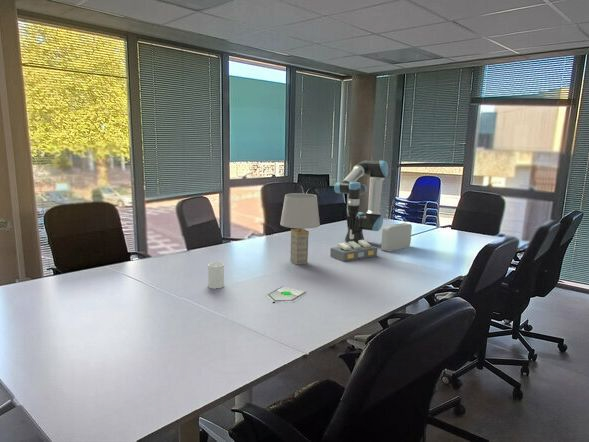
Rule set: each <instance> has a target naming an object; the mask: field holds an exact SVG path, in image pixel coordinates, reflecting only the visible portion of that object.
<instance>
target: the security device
mask: <svg viewBox="0 0 589 442" xmlns="http://www.w3.org/2000/svg"><path fill="white" fill-rule="evenodd" d="M306 293H307V294H308V292H307V291H305V290H301V289H298V288H297V289H296V288H292V287H288V286H284V285H283V286H280V287H279V288H277V289H276V290H273V291H272V292H270V293H268V294H266V295H267V296H268V297H269V298H271V300H273V302H282V301H283V302H285V301H291V302H292V301H294V300H296V299H298V298H299V297H301V296H303V295H304V294H306ZM307 294H306V295H307ZM304 296H305V295H304ZM304 296H303V297H304ZM301 298H302V297H301ZM298 300H299V299H298Z"/></svg>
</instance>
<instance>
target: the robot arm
mask: <svg viewBox="0 0 589 442" xmlns="http://www.w3.org/2000/svg"><path fill="white" fill-rule="evenodd" d="M388 175H389V164H388V162H387V161H385V160H379V159H378V160H377V159H365V160H362V161H360V162H357V164H355V165H354V166H353V168H352V170H351V171H350V172H349V174H347V176H346V177H345V178H344V179H343V180H342V181H341V182H336V183H335V184H334V186H333V187H334V188H333V189H334V192H335V193H336V194H343V195H345V194H347V195H348V199H347V200H348V205H347V210H348V212H347V213H345V216H346V224H347V232H346V236H345V238H344V242H346V243H348V242H350V241H354V242H356V243H357V244H359V243H358V240H364V241H365V238H364V233H363V230H365V231H372V232H379V231H381V229H382V228H383V227H382V226H383V223H384V217H383V216H382V213H381V212H380V208H381V198H382V191H383V183H384V182H383V181H384V180H385V179H386V177H388ZM363 176H369V178H370V181H371V182H370V189H369V198H368V199H369V200H368V209H367V211H366V212H365V214H364V212H363V211H362V212H361V211H360V212H359V210H360V200H361V199H360V198H361V197H360V196H362V195H364V194H366V192H367V191H368V188H367V186H366V184H364V183H361V182H360V181H359V182H358V180H359V178H361V177H363Z"/></svg>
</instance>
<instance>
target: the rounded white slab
mask: <svg viewBox="0 0 589 442" xmlns="http://www.w3.org/2000/svg"><path fill="white" fill-rule="evenodd" d="M411 241H412V224H411V223H406V222H403V223H397V224H391V225H385V226H383V227H382V232H381V242H380V243H381V244H380V245H381V246H380V248H381V250H382V251H385V252H388V253H389V252H393V251H397V250H398V251H399V250H402V248H403V249H406V248H409V247H410V246H411V243H412V242H411Z"/></svg>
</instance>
